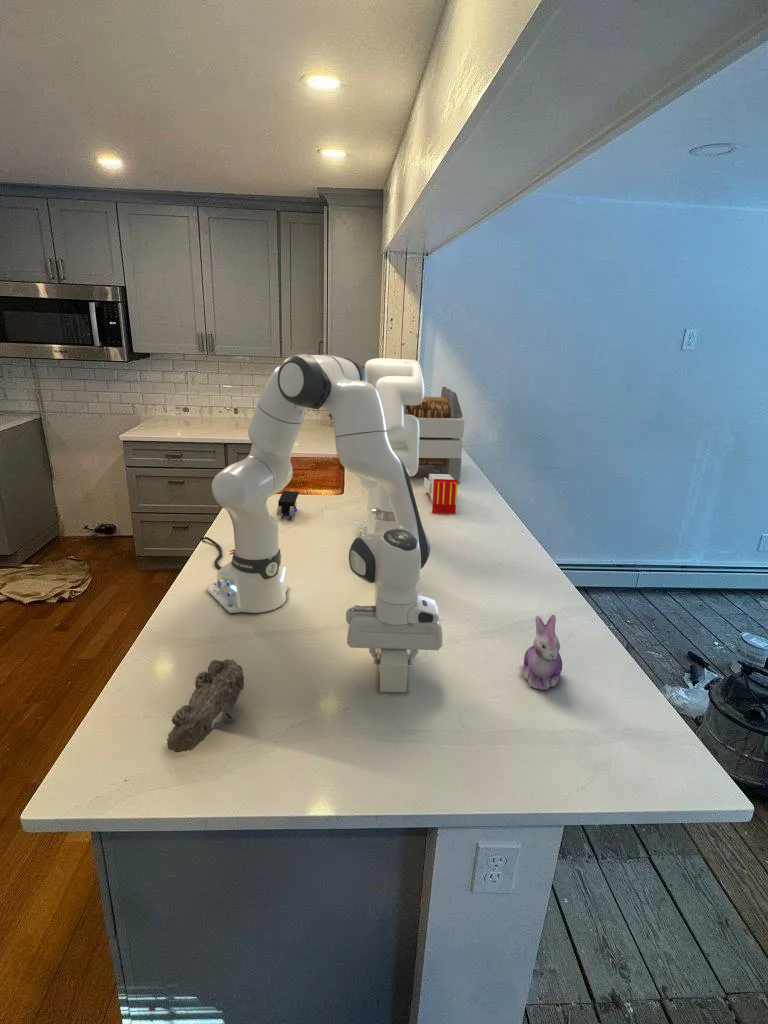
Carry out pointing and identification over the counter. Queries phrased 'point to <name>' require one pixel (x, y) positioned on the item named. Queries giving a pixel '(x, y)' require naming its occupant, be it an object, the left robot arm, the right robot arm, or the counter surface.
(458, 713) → the counter surface
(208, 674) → the fossil
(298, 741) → the counter surface
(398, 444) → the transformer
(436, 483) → the toy
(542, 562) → the counter surface
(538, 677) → the figurine
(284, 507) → the figurine character
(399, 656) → the beam
